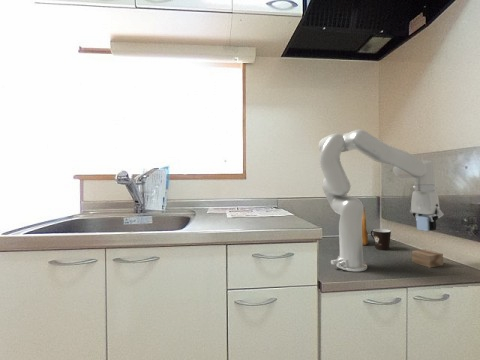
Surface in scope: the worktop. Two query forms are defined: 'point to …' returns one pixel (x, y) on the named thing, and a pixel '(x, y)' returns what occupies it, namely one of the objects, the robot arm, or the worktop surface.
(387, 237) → the coffee mug
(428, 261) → the block
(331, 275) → the worktop surface
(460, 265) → the worktop surface
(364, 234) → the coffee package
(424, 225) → the blue block
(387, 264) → the worktop surface
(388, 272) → the worktop surface
